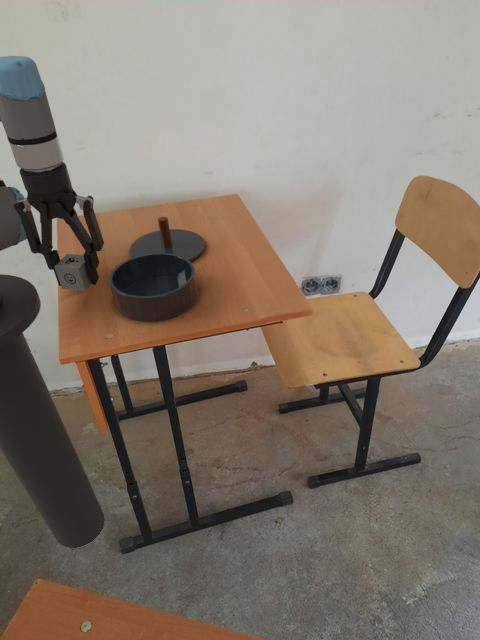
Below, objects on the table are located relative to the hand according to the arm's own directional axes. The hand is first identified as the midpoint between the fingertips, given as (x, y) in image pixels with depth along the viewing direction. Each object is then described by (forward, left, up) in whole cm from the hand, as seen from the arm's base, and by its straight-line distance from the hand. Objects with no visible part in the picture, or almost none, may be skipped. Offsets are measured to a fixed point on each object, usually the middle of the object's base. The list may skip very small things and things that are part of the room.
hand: (79, 281), depth 95 cm
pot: (+12, +13, -13) cm, 22 cm away
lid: (+12, +36, -12) cm, 40 cm away
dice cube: (0, 0, -1) cm, 1 cm away
